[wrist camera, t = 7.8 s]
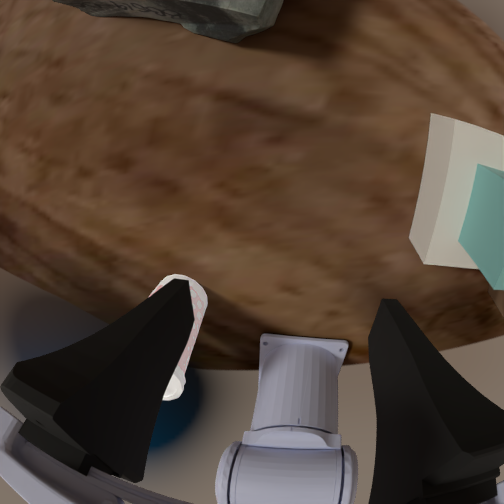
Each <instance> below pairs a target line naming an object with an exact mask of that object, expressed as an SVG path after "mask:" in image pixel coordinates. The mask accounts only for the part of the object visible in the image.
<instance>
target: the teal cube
mask: <svg viewBox="0 0 504 504" xmlns="http://www.w3.org/2000/svg"><path fill="white" fill-rule="evenodd" d="M458 242H459V243H460V244H461V245H462V247H463V248H464V249H465V250H466V252H467V253H468V254H469V256H470V257H471V258H472V260H473V261H474V262H475V264H476V265H477V267H478V268H479V269H480V271H481V272H482V274H483V275H484V276H485V278H486V279H487V281H488V282H489V284H490V285H491V287H492V288H493V290H504V171H501V170H498V169H495V168H491V167H488V166H485V165H481V164H478V163H477V169H476V174H475V178H474V183H473V188H472V192H471V196H470V200H469V204H468V208H467V212H466V215H465V219H464V222H463V226H462V229H461V232H460V236H459V239H458Z"/></svg>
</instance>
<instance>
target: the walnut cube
mask: <svg viewBox="0 0 504 504" xmlns="http://www.w3.org/2000/svg"><path fill="white" fill-rule="evenodd" d="M488 293H489V294H490V296H491V297H492V299H493V301H494V302H495V304H496V306H497V307H498V309H499V311H500V312H501V314H502V316H503V318H504V290H493V288H492V287H491V285H490V284H489V289H488Z"/></svg>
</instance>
